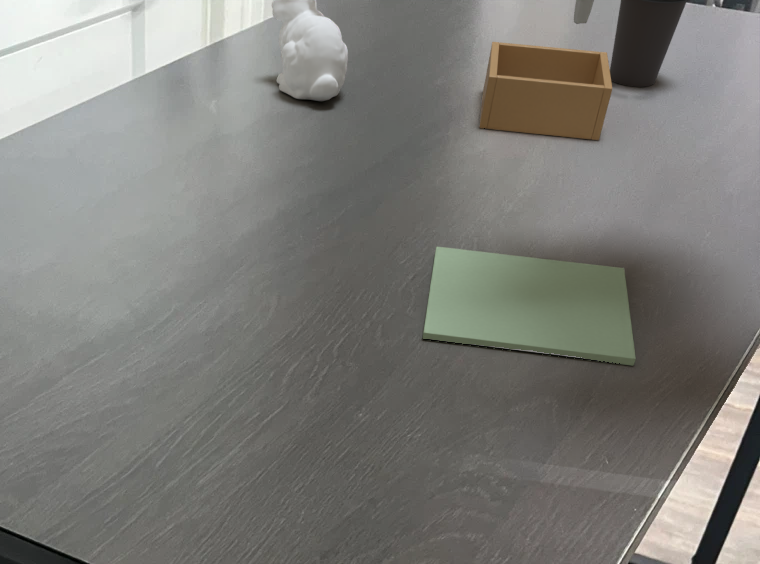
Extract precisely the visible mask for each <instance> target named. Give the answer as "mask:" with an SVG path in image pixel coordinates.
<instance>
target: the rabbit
mask: <svg viewBox="0 0 760 564" xmlns="http://www.w3.org/2000/svg"><path fill="white" fill-rule="evenodd" d="M317 6H318V3H317V0H272V2H271V9H272V12H271V14H272V17H273V18H274V20H275V21H279V22H281V23H282V25H281V28H280V30H279V35H278V46H279V48H280V52H281V53H280V57H281V62H282V69H283V71H282V72H281V73H279V74H278V76H277V77H276V83H277V84H278V90H280V92H283V93H285V94H287V95H289V96H291V97H292V98H294V99H297V100H309V101H310V100H311V101H315V102H325V101H329V100H330V99H332V98H334V97H337V96H338V95H339V93H340V91H341V89H342V87H343V86H344V84H345V82H346V75H347V71H348V62H349V59H348V58H349V57H348V56H349V51H348V46H347V45H346V43H345V42H344V41H343V36H342V32H341V29H340V27H339V26H338V24H336V22H335V21H333V20H332V19H331V18H329V17H327V16H325V15H324V14H323V13H322V11H320V10H319V9H318V7H317Z"/></svg>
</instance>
